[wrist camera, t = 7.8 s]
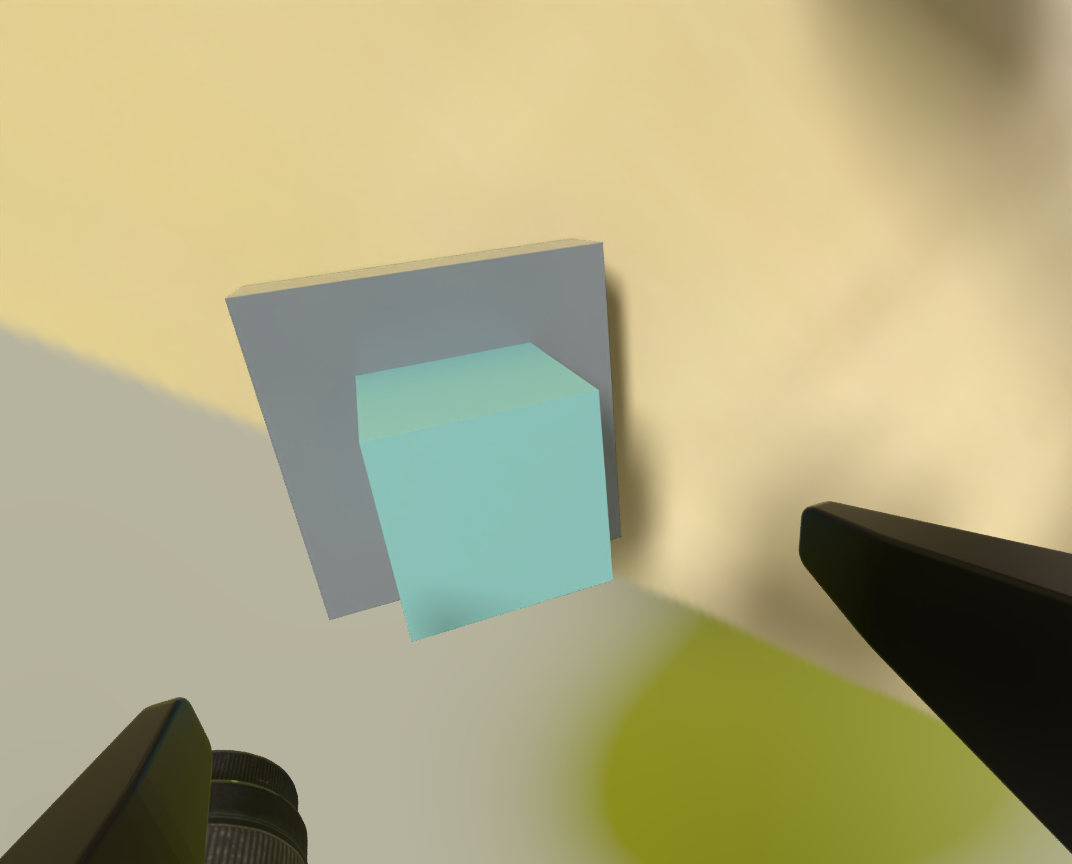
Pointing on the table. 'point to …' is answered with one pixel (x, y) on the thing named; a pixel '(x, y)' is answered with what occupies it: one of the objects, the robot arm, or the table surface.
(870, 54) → the table surface
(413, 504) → the cube
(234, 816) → the camera lens
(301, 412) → the tile
